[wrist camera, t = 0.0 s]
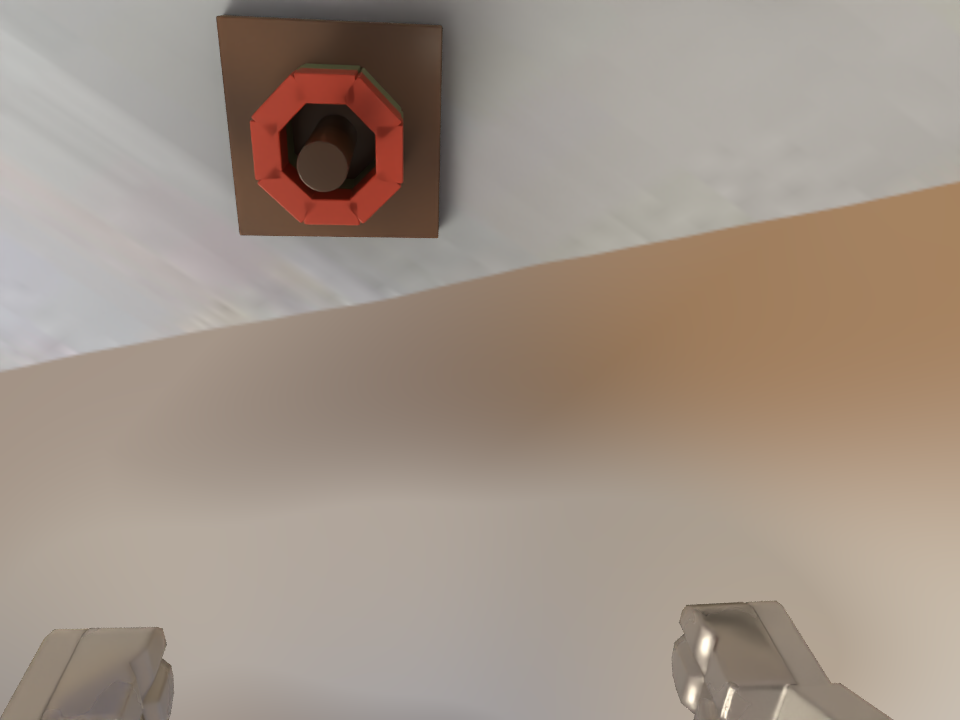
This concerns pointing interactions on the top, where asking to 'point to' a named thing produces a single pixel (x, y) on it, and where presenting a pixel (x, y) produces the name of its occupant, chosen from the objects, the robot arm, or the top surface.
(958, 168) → the top surface
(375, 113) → the red ring
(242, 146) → the post
